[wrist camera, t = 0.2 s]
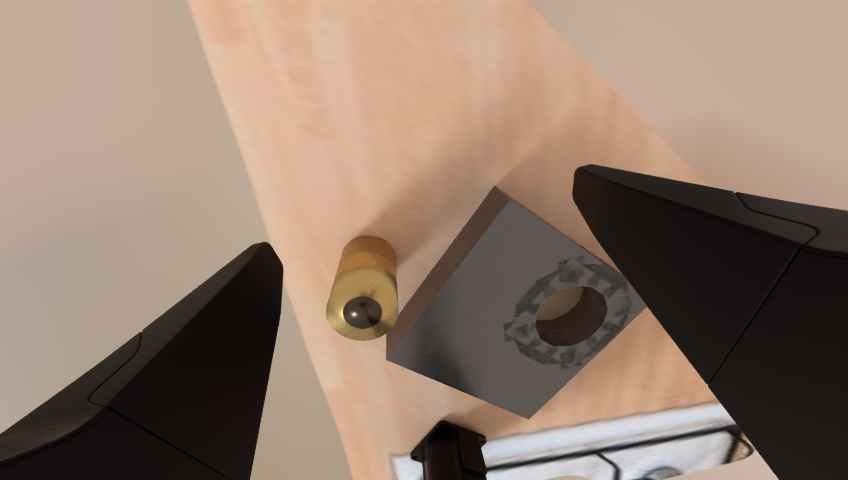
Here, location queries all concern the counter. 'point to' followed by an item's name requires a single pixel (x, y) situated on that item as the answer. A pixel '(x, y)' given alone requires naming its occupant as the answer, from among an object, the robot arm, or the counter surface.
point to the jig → (510, 310)
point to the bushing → (364, 290)
